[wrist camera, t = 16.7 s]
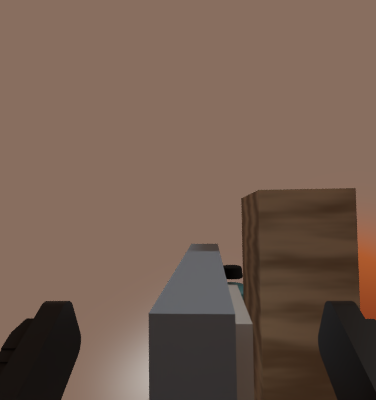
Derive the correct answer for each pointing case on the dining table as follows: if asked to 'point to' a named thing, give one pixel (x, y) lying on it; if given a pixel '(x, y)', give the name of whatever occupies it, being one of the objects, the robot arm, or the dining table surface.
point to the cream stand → (243, 347)
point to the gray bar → (194, 332)
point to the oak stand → (296, 283)
